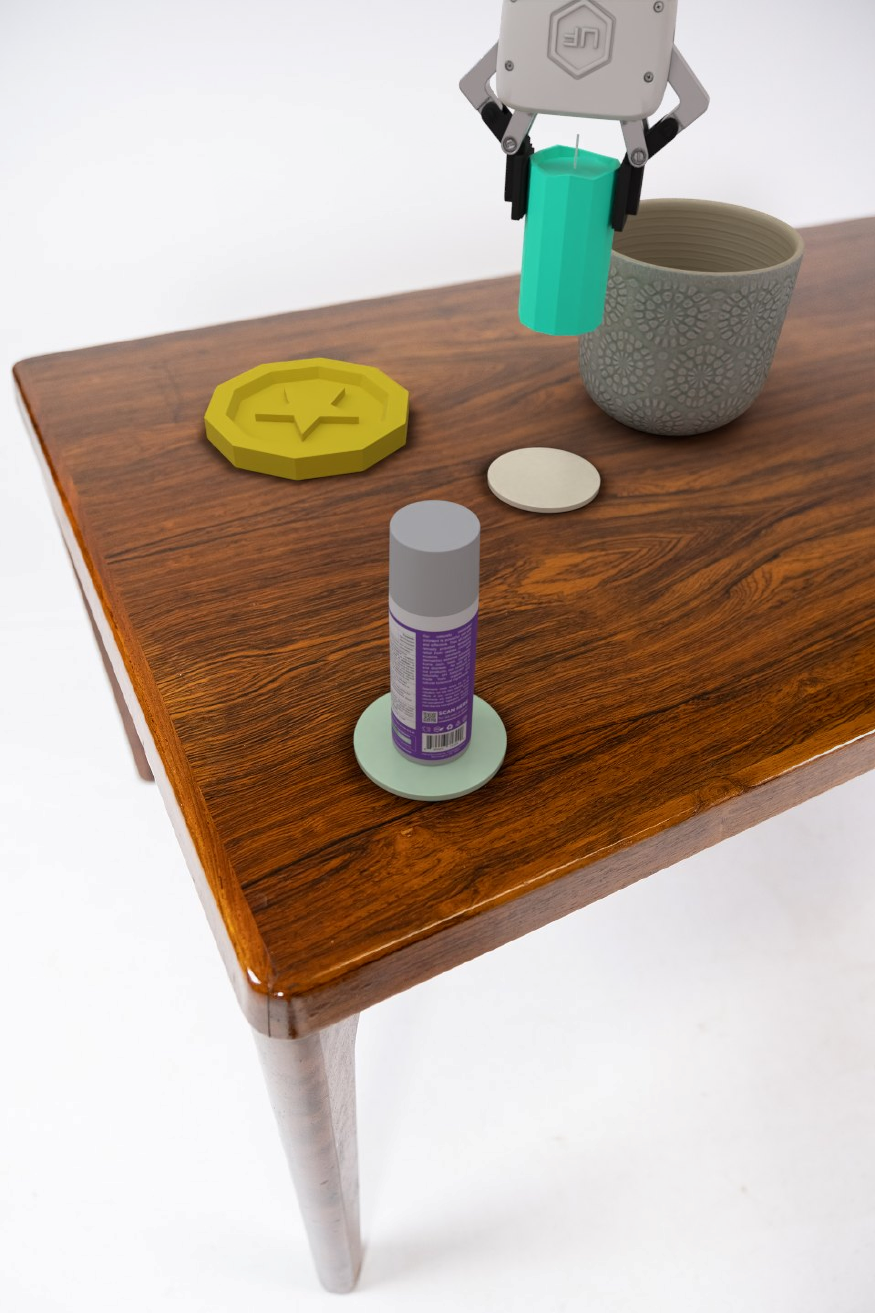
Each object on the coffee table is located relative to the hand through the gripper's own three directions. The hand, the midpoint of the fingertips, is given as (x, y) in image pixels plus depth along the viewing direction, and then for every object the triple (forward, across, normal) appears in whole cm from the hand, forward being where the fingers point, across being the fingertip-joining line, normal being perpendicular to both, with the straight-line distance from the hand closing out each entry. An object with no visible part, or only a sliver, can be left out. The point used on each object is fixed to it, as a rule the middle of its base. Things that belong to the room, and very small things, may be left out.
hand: (569, 216), depth 67 cm
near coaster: (+21, -1, -30) cm, 36 cm away
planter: (+21, +8, +15) cm, 27 cm away
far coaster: (+21, 0, 0) cm, 21 cm away
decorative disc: (+21, -21, +3) cm, 30 cm away
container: (+20, -1, -30) cm, 36 cm away
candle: (+7, 0, 0) cm, 7 cm away
